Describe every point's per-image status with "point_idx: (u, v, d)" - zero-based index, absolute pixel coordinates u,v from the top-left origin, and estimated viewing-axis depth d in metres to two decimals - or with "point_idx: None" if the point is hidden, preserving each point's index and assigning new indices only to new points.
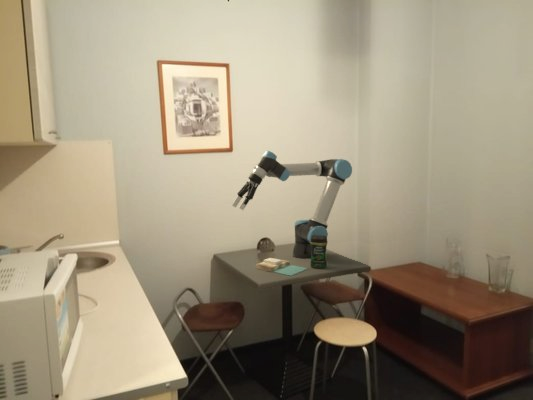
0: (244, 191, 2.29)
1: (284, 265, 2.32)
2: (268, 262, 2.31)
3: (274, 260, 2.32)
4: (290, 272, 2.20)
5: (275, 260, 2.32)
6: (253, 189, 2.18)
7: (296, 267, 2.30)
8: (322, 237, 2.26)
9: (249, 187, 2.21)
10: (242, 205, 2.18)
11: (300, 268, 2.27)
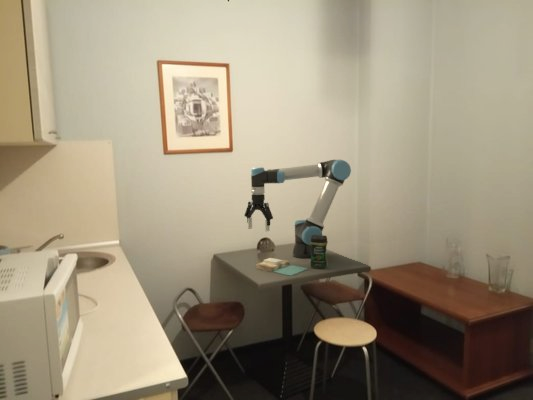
0: (252, 212, 2.39)
1: (284, 265, 2.32)
2: (268, 262, 2.31)
3: (274, 260, 2.32)
4: (290, 272, 2.20)
5: (275, 260, 2.32)
6: (268, 209, 2.30)
7: (296, 267, 2.30)
8: (322, 237, 2.26)
9: (261, 209, 2.32)
10: (267, 227, 2.32)
11: (300, 268, 2.27)
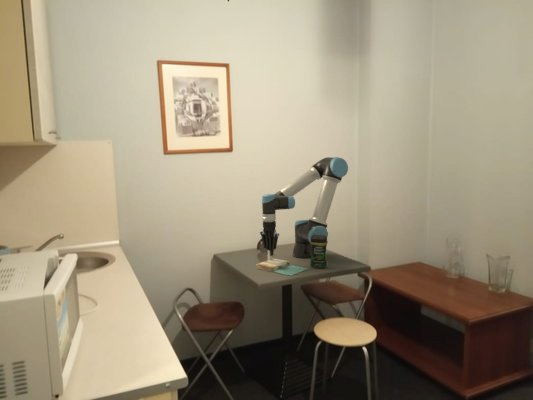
0: (268, 241, 2.33)
1: (284, 265, 2.32)
2: (272, 263, 2.29)
3: (278, 261, 2.30)
4: (290, 272, 2.20)
5: (279, 261, 2.30)
6: (275, 240, 2.29)
7: (296, 267, 2.30)
8: (322, 237, 2.26)
9: (270, 238, 2.30)
10: (270, 257, 2.33)
11: (300, 268, 2.27)
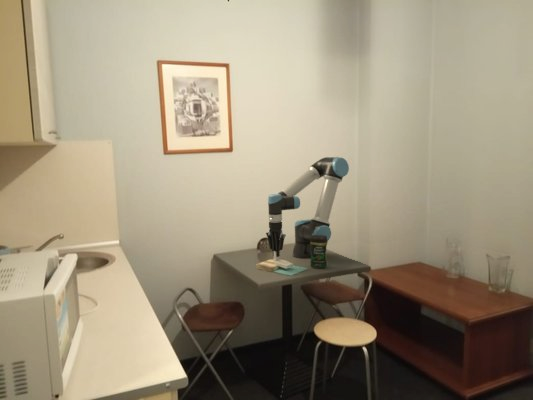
0: (274, 242, 2.30)
1: None
2: (279, 264, 2.26)
3: (285, 263, 2.27)
4: (290, 272, 2.20)
5: (286, 263, 2.27)
6: (282, 241, 2.26)
7: (296, 267, 2.30)
8: (322, 237, 2.26)
9: (276, 239, 2.27)
10: (276, 258, 2.30)
11: (300, 268, 2.27)
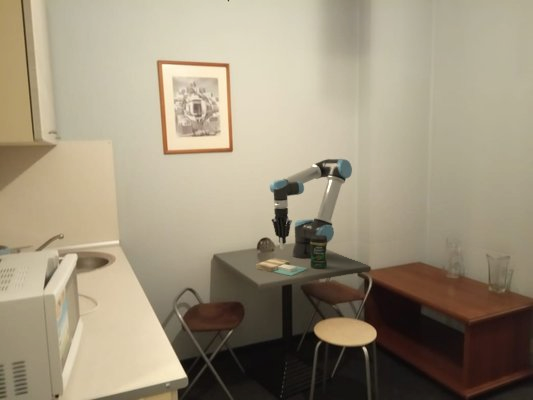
0: (280, 228, 2.27)
1: None
2: (282, 269, 2.24)
3: (289, 267, 2.25)
4: (290, 272, 2.20)
5: (290, 267, 2.25)
6: (288, 227, 2.23)
7: None
8: (322, 237, 2.26)
9: (282, 225, 2.24)
10: (283, 245, 2.27)
11: (300, 268, 2.27)
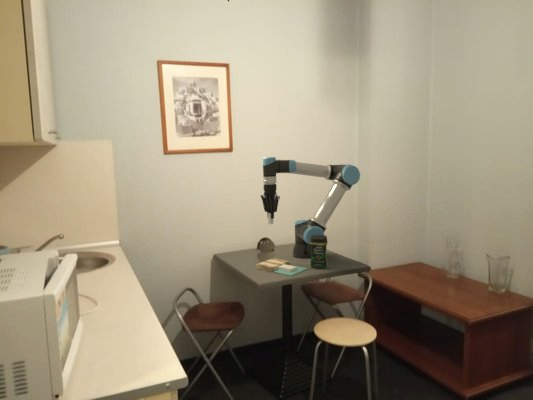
0: (269, 204, 2.35)
1: None
2: (282, 269, 2.24)
3: (289, 267, 2.25)
4: (290, 272, 2.20)
5: (290, 267, 2.25)
6: (276, 203, 2.31)
7: None
8: (322, 237, 2.26)
9: (271, 200, 2.32)
10: (271, 220, 2.35)
11: (300, 268, 2.27)
